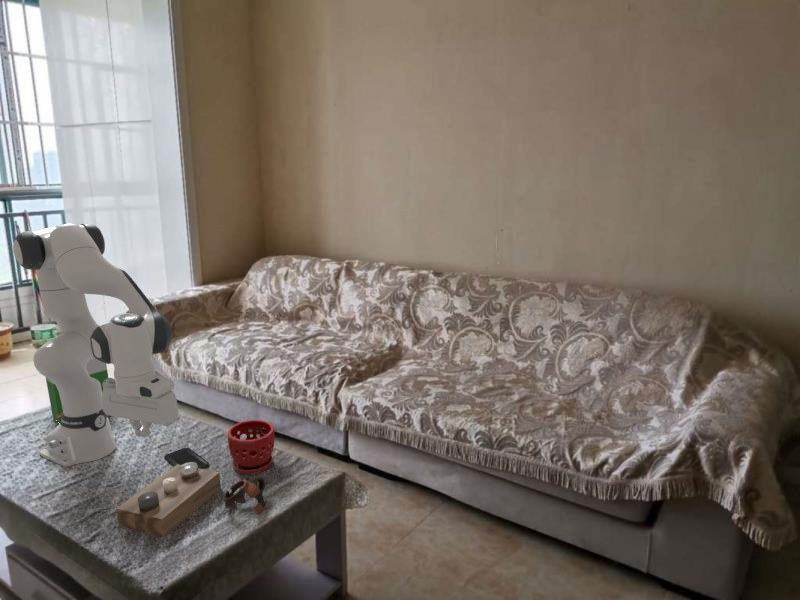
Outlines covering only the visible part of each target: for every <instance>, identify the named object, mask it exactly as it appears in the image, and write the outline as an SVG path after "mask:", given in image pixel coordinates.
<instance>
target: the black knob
mask: <svg viewBox="0 0 800 600" xmlns="http://www.w3.org/2000/svg"><path fill="white" fill-rule="evenodd" d="M138 504H139V509H140V510H141V511H150V510H153V509H155V508H156V507H158V505H159V498H158V493H156V492H147V493H144V494H142V495H140V496H139V497H138Z"/></svg>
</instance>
